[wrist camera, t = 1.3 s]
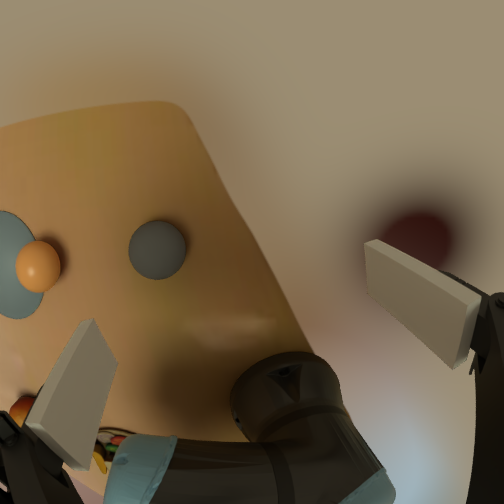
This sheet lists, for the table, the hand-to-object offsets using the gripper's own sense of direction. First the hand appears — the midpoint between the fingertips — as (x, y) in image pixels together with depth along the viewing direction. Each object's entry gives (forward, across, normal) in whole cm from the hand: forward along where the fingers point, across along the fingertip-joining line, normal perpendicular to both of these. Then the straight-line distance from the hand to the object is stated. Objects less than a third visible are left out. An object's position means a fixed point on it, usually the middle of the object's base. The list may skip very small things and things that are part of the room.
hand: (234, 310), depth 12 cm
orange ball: (+14, +20, -2) cm, 25 cm away
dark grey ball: (+15, +6, 0) cm, 16 cm away
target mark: (+17, +28, -3) cm, 33 cm away
